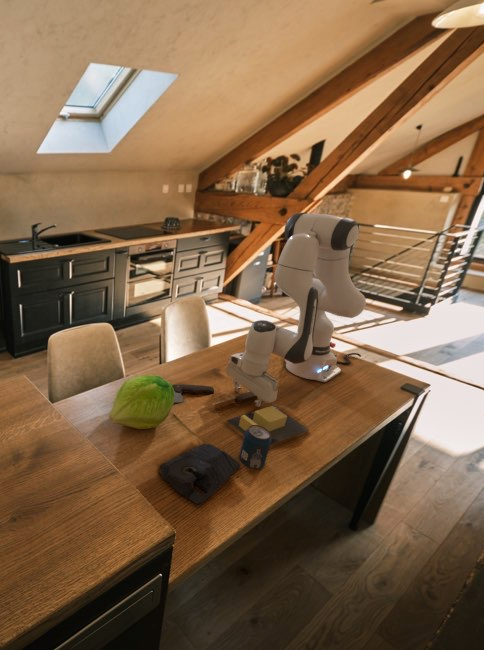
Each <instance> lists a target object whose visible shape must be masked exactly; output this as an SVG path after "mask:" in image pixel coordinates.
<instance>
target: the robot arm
mask: <svg viewBox="0 0 484 650" xmlns="http://www.w3.org/2000/svg"><path fill="white" fill-rule="evenodd" d="M283 230H284V232H283V233H284V236H285V239H286V243H284V247H283V249H282V250H281V253H280V255H279V258H278V261H277V264H276V267H275V270H274V281H275V284H276V286H277V287H278V289H279V290H280V291H281V292H283V293H284V294H285V295H286V296H288V297H289V298H291V299H292V300H293V301H294V302H295V303H296V305H297V306H298V308H299V317H298V323H297V324H298V325H297V331H296V332H295V331H292V330H289V329H287V328H284V327H282V326H280V325H277V324H275V323H274V322H271V321H269V320H265V319H264V320H263V319H262V320H261V319H260V320H259V319H258V320H256V321H253V323H251V326H250V327H249V330H248V333H247V335H246V339H245V343H244V351H243V352H237V353H233V354H231V355H230V356H229V361H228V362H227V364H226V369H225V372H226V375H227V377H229V378H231V379H232V384H233V391H235V392H236V393H240V392H241V389H242V387H244V389H246V390H248V391H249V392H252V393H253V394H255V395H256V396H258V397H257V399H256V400H254V401H253V405H254V406H255V407H256V408H259V407H260V406H261V405H262V403H263V402H264V403H266V404H270V403H273V402H276V401H277V397H278V391H279V382H278V381H277V379H276V378H275V377H274V376H272V375H270V374H269V373H268V371H269V368H270V363H271V356H272V354H273V355H275V356H277V357H280V358H282V359H284V362H285V368H286V370H287V371H288V372H290V373H292V374H294V375H295V376H297V377H300V378H302V379H307V380H312V381H317V382H321V383H327V382H328V381H330V380H332V379H334V378H335V377H336V376H337V375H339V374H341V373H342V369H341V368H340V367H339V366H337V364H341V365H350V364H351V360H350V359H348V357H349V356H358V357H359V358H360V357H362V355H361V354H360V353H358V352H351V353H350V352H349V353H347V354H345V355H344V357H343V358H344V359H345V360H346V361H347V362H344V361H338V358H337V354H336V353H334V352H332V351H331V349H334V348H335V347H336V346H337V345H336V344H337V343H334V342H332V337H333V334H334V331H335V327H334V323H333V322H332V321H331V320H330V319H329V318H328V316H327V314H326V313H328V314H331V315H334V316H336V317H341V318H347V319H354V318H356V317H358V316H359V315H361V314H362V313H363V312H364V310H365V308H366V305H367V300H366V297H365V295H364V294H363V293H362V292H361V291H360V290H359V289H358V288H357V287H356V285H355V284H354V283H353V280H352V279H351V276H350V272H349V264H350V253H351V252H350V251H351V248H352V247H353V246H354V245H355V243H356V242H357V240H358V238H359V234H360V225H359V223H358V222H357V221H356V220H354V219H353V218H349V217H341V216H337V215H333V214H328V213H323V214H322V213H308V212H296V213H294V214H292V215H291V216H290V217H289V218H288V220H287V221H286V223H285V225H284V229H283ZM313 276H315V277H313ZM347 355H348V356H347ZM240 385H241V386H240Z"/></svg>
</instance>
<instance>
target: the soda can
mask: <svg viewBox="0 0 484 650" xmlns="http://www.w3.org/2000/svg"><path fill="white" fill-rule="evenodd" d="M270 444H271V437H270V432H269V431H268V430H267V429H266V428H264V427H262V426H259V425H251V426H250V427H249V428H248V429H247V430H246V431H245V435H243V438H242V443H241V447H240V451H239V455H238V458H239V461H240V462H241V463H242V465H244V466H245V467H247V468H249V469H252V470H262V469H263V468H264V467H265V465H266V460H267V457H268V454H269V450H270V447H271V445H272V444H271V445H270Z"/></svg>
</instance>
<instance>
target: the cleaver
mask: <svg viewBox="0 0 484 650" xmlns="http://www.w3.org/2000/svg"><path fill="white" fill-rule="evenodd" d="M171 385H172V387H173V389H174V392H175V394H174V404H176V403H185V400H184V397H183V395H182V393H189V394H195V395H197V394H198V395H199V394H207V395H214V394H215V389H214V387H213V386H209V385H202V384H201V385H200V384H171Z"/></svg>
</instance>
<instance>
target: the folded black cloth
mask: <svg viewBox="0 0 484 650" xmlns="http://www.w3.org/2000/svg"><path fill="white" fill-rule="evenodd" d="M240 467H241V463H240V462H238V461H237V460H236V459H235V458H233V457H232V456H231V455H230V454H228V453H227V452H226V451H225V450H224V449H223V450H222V449H221V448H218V447H216V446H214V445H213V444H211V443H207V444H206V443H203V444H201V445H199V446H196V448H195V447H194V448H193V449H190V450H188V451H186V452H184V453H182V454H179V455H177V456H175V457H174V458H171V459H169V460H168V461H166V462H164V463H161V464H160V465H159V468H160V471H159V475H160V476H161V478H162V479H163V480H164V481H166V482H167V483H168V484H169V485H170V486H171V488H172V489H173V490H174V491H175V492H177V493H178V494H179V495H180V496H181V497H185V498H187V499H188V500H189V501H191V502H192V503H193V504H195V505H201V504H202V503H203V502H205V501H207V499H209V497H211V496H212V495H213V494H215V493H216V491H218V489H220V487H222V486H223V485H224V484H225V483H226V482H227V481H228V480H229V479H230V478H231V476H232V475H234V473H236V472H237V471H238V470H239V469H240ZM194 485H195V486H196V487H197V488H199V489H201V490H202V491H204V492H205V493H200V492H199V491H198V490H197V489H196V488H195V487H194Z"/></svg>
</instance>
